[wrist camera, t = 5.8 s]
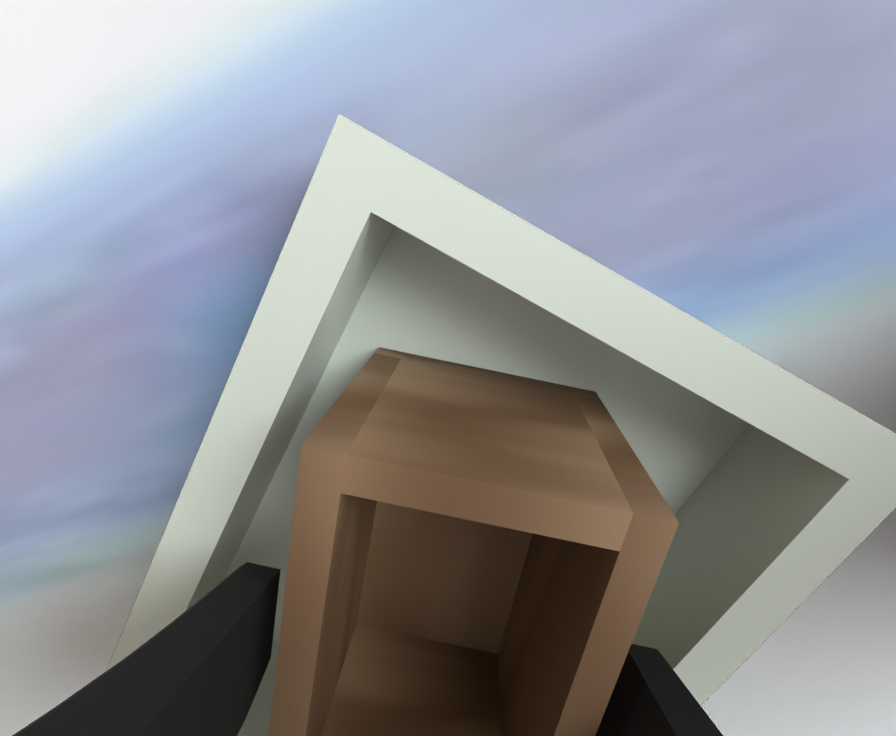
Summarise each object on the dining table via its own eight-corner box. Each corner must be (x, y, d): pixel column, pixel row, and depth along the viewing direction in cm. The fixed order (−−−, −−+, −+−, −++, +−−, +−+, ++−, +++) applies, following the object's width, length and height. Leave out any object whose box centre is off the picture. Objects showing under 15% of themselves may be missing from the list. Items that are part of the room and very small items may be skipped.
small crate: (596, 391, 11) (679, 523, 6) (514, 659, 14) (530, 900, 9) (379, 347, 11) (301, 444, 6) (336, 621, 14) (256, 840, 9)
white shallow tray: (808, 388, 11) (942, 459, 8) (501, 755, 15) (506, 903, 12) (384, 146, 11) (339, 114, 7) (177, 603, 15) (86, 717, 11)
